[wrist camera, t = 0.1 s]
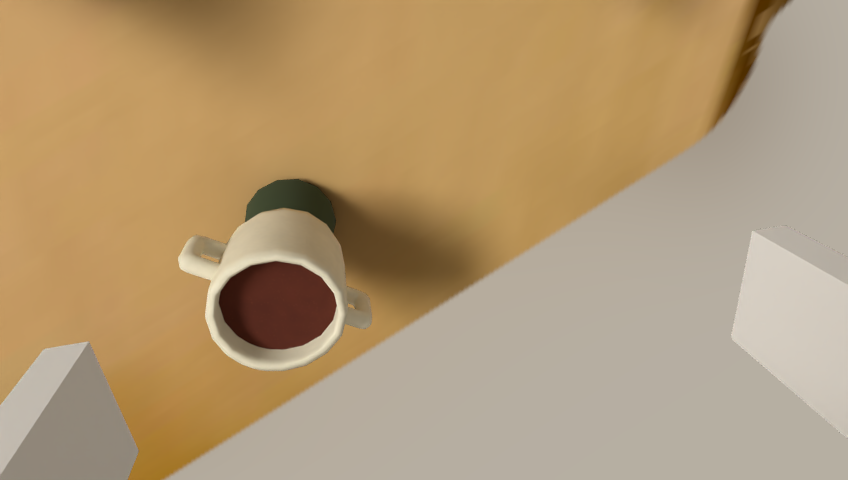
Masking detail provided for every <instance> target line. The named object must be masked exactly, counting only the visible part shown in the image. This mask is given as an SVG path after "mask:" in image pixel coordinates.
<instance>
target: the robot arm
mask: <svg viewBox="0 0 848 480" xmlns="http://www.w3.org/2000/svg"><path fill="white" fill-rule="evenodd" d="M731 339H732V340H733V341H735V342H736V343H737V344H738V345H739V346H740V347H742V348H743V349H744V350H745V351H746V352H747V353H749V354H750V355H751V356H752V357H753V358H754V359H755V360H757V361H758V362H759V363H760V364H761V365H762V366H764V367H765V368H766V369H767V370H768V371H769V372H771V373H772V374H773V375H774V376H775V377H776V378H778V379H779V380H780V381H781V382H782V383H783V384H784V385H786V386H787V387H788V388H789V389H790V390H791V391H793V392H794V393H795V394H796V395H797V396H798V397H799V398H801V399H802V400H803V401H804V402H805V403H806V404H808V405H809V406H810V407H811V408H812V409H813V410H815V411H816V412H817V413H818V414H819V415H820V416H822V417H823V418H824V419H825V420H826V421H827V422H828V423H830V424H831V425H832V426H833V427H834V428H835V429H837V430H838V431H839V432H840V433H841V434H842V435H844V436H845V437H846V438H847V439H848V257H847V256H845V255H843V254H841V253H839V252H837V251H835V250H833V249H831V248H829V247H827V246H825V245H823V244H822V243H820V242H817V241H816V240H814V239H812V238H810V237H808V236H806V235H804V234H802V233H800V232H798V231H796V230H794V229H792V228H790V227H788V226H787V225H783V226H778V227H772V228H765V229H759V230H753V231H752V235H751V240H750V245H749V250H748V255H747V260H746V265H745V270H744V275H743V280H742V285H741V290H740V295H739V300H738V305H737V310H736V315H735V320H734V325H733V330H732V335H731ZM138 452H139V450H138V448H137V446H136V444H135V442H134V439H133V437H132V435H131V433H130V431H129V428H128V426H127V424H126V422H125V420H124V417H123V415H122V413H121V411H120V409H119V406H118V404H117V402H116V400H115V398H114V395H113V393H112V391H111V389H110V387H109V384H108V382H107V380H106V378H105V376H104V373H103V371H102V369H101V367H100V365H99V362H98V360H97V358H96V356H95V354H94V351H93V349H92V347H91V345H90V343H89V342H83V343H77V344H71V345H65V346H59V347H53V348H47V349H44V350H43V351H42V352H41V354H40V355H39V356H38V357H37V359H36V360H35V361H34V363H33V364H32V365H31V366H30V368H29V369H28V370H27V372H26V373H25V374H24V376H23V377H22V378H21V379H20V381H19V382H18V383H17V385H16V386H15V387H14V388H13V390H12V391H11V392H10V394H9V395H8V396H7V397H6V399H5V400H4V401H3V403H2V404H1V405H0V480H127V479H128V477H129V474H130V472H131V469H132V467H133V464H134V462H135V459H136V457H137V454H138Z"/></svg>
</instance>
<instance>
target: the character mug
mask: <svg viewBox="0 0 848 480" xmlns="http://www.w3.org/2000/svg"><path fill="white" fill-rule="evenodd" d="M335 223H336V218H335V215H334V211H333V208H332V205H331V202H330V201H329V199H328V198H327V197H326V196H325V195H324V194H323V193H322V192H321V191H320V189H319V188H318V187H316V186H314V185H311V184H309V183H306V182H304V181H301V180H299V179H292V180H277V181H275V182H273V183H271V184H269V185H267V186H265V187H263V188H261V189H259V190H258V191H257V193H256V194H255V195H254V197H253V198H252V199H251V201H250V202H249V203H248V205H247V210H246V218H245V223H243V224H242V225H240V226H239V227H238V228H237V229H236V231H235V232H234V234H233V235H232V236H231V238H230V239H229V241H228V242H227V244H225V243H222V242H219V241H216V240H213V239H210V238H207V237H204V236H200V235H195V236H193V237H191V238H190V239H189V240H188V241H187V243H186V245H185V246H184V248H183V250H182V252H181V254H180V256H179V257H178V260H179V266H180V269H181V270H183V271H185V272H187V273H190V274H193V275H196V276H199V277H202V278H205V279H208V280H211V284H210V286H209V290H208V296H207V305H206V312H205V318H206V321H207V324H208V327H209V330H210V333H211V336H212V339H213V340H214V341H215V342H216V343H217V345H218V346H219V347H220V348H221V349H222V350H223V351H224V353H225V354H226V355H227V356H229V357H230V358H232V359H234V360H235V361H237V362H239V363H240V364H242V365H245V366H247V367H250V368H253V369H258V370H264V371H285V370H289V369H294V368H298V367H302V366H306V365H308V364H309V363H311V362H313V361H314V360H316V359H318V358H320V357H321V356H323V355H325V354H326V353H327V352H328V351H329V350H330V349H331V348H332V347H333V345H334V344H335V343H336V342H337V341H338V339H339V338H340V337H341V336H342V333H343V329H344V325H345V324H347V325H350V326H353V327H357V328H361V329H366V328H368V327H369V326H370V325H371V323H372V313H371V306H370V299H369V297H368V295H367V294H365V293H363V292H361V291H359V290H356V289H353V288H350V287H348V286H346V275H345V264H344V259H343V254H342V249H341V245H340V243H339V242H338V240H337V239H336V237H335V236H334V234H333V233H334V228H335ZM202 254H204V255H207V256H210V257H213V258H216V259H218V260H219V263H216V262H213V261H211V260H208V259H205V258H202V257H201V255H202ZM348 303H349V304H351V305H353V306H354V307H355V309H353V308H350V307H348Z"/></svg>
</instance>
